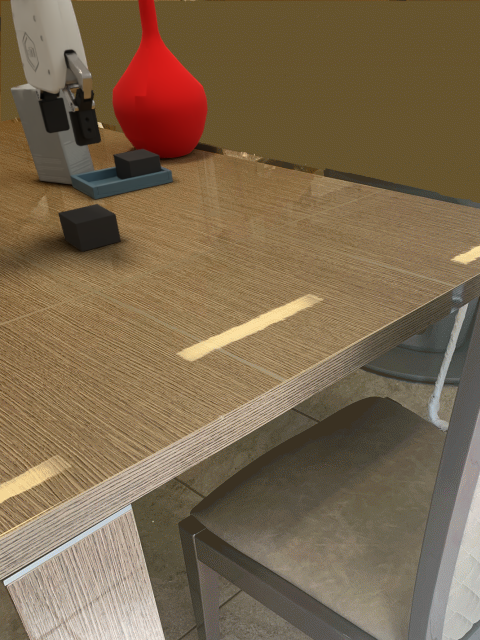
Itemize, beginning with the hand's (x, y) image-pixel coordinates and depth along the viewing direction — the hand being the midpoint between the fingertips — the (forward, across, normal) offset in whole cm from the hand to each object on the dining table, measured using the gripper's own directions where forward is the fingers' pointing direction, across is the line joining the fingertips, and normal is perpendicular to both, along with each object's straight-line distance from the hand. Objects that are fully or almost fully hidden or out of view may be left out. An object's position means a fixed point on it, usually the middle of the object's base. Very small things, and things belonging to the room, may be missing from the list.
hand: (73, 137), depth 85 cm
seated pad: (+14, -22, +19) cm, 32 cm away
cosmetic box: (+14, -32, +9) cm, 36 cm away
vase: (+14, -36, +33) cm, 51 cm away
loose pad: (+14, 0, 0) cm, 14 cm away
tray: (+14, -22, +16) cm, 31 cm away
